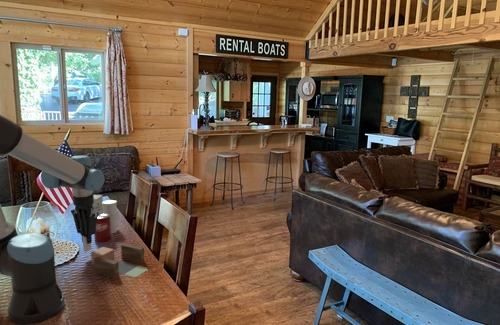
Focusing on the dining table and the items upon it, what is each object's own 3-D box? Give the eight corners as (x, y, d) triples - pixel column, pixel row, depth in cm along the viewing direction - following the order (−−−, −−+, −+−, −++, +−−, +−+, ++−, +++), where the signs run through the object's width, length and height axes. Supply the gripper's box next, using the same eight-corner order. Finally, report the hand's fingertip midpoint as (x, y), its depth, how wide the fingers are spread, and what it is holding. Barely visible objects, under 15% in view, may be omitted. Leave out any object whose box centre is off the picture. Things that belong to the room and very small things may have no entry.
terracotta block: (103, 267, 142) (102, 255, 141) (91, 264, 145) (90, 252, 144) (114, 261, 148) (113, 249, 147) (103, 258, 150) (102, 246, 149)
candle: (120, 231, 180) (118, 202, 177) (105, 234, 176) (103, 204, 173) (116, 227, 186) (115, 199, 183) (102, 230, 182) (100, 201, 179)
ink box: (97, 219, 197) (96, 198, 195) (82, 219, 198) (80, 198, 195) (104, 214, 206) (102, 194, 204) (89, 214, 206) (87, 194, 204)
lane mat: (135, 277, 135) (135, 277, 135) (87, 265, 144) (87, 264, 144) (149, 268, 142) (149, 268, 142) (103, 257, 151) (103, 256, 151)
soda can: (105, 244, 164) (104, 219, 162) (91, 243, 166) (89, 218, 164) (114, 238, 171) (113, 214, 169) (100, 237, 173) (99, 213, 171)
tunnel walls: (115, 279, 133) (114, 263, 132) (94, 273, 137) (93, 258, 136) (144, 261, 148) (143, 247, 147) (125, 257, 152) (124, 243, 151)
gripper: (102, 194, 146) (106, 249, 150) (79, 190, 151) (83, 244, 155) (87, 199, 139) (92, 256, 143) (63, 194, 144) (68, 250, 149)
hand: (87, 250), depth 149 cm, fingers closed
